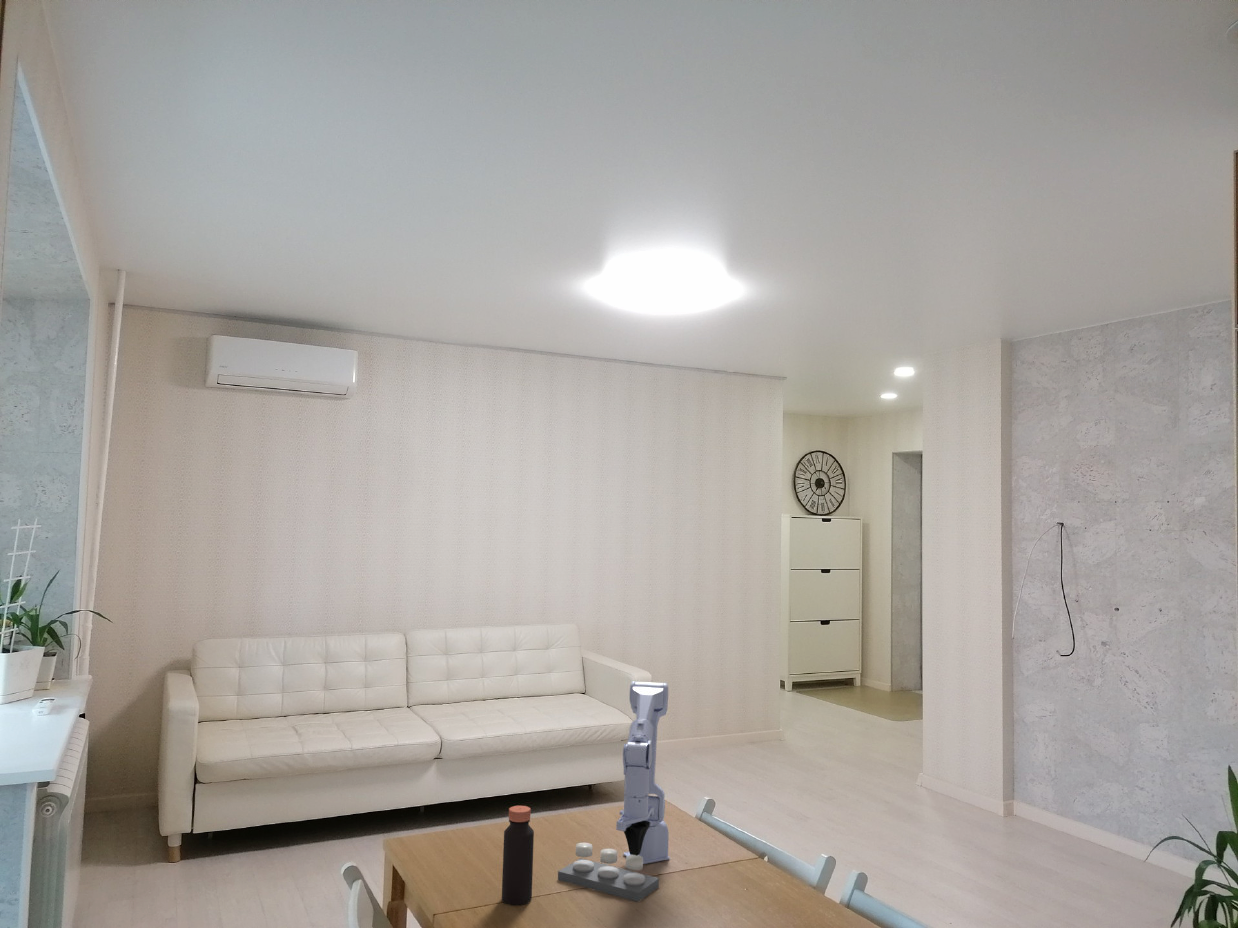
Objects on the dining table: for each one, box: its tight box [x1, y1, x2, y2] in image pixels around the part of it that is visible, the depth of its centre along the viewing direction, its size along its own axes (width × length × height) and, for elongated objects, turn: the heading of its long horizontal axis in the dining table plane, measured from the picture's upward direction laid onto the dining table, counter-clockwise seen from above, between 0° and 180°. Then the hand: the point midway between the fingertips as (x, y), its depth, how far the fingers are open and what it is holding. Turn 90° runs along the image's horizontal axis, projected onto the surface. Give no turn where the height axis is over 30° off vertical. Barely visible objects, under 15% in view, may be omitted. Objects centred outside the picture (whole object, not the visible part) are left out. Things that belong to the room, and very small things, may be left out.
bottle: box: [501, 805, 535, 906], centre depth 198 cm, size 7×7×20 cm
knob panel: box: [557, 857, 660, 903], centre depth 208 cm, size 22×10×3 cm, turn 60°
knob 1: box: [575, 842, 593, 858], centre depth 212 cm, size 4×4×2 cm
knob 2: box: [599, 848, 618, 865], centre depth 208 cm, size 4×4×2 cm
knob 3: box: [625, 855, 644, 871], centre depth 205 cm, size 4×4×2 cm
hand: (634, 853), depth 205 cm, fingers closed
